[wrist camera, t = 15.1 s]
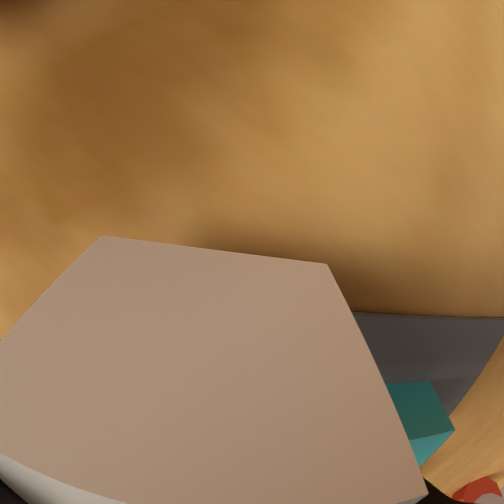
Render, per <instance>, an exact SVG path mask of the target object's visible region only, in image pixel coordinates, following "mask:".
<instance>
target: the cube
mask: <svg viewBox="0 0 504 504" xmlns="http://www.w3.org/2000/svg"><path fill="white" fill-rule="evenodd" d="M385 385H386V388H387V390H388V392H389V394H390V397H391V399H392V401H393V404H394V406H395V408H396V411H397V413H398V416H399V418H400V420H401V423H402V425H403V428H404V430H405V432H406V435H407V437H408V440H409V442H410V445H411V448H412V450H413V453H414V455H415V458H416V460H417V463H418V466H419V467H420V466H421V465H422V464H423V463H424V462H425V461H426V460H427V459H428V458H429V457H430V456H431V455H432V454H433V453H434V452H435V451H436V450H437V449H438V448H439V447H440V446H441V445H442V444H443V443H444V442H445V441H446V440H447V438H448V437H449V436H450V435H451V434H452V433H453V432H454V431H455V428H454V427H453V425H452V423H451V421H450V419H449V417H448V415H447V413H446V411H445V409H444V407H443V405H442V404H441V402H440V400H439V398H438V396H437V394H436V393H435V391H434V389H433V387H432V385H431V384H430V382H429V381H422V382H410V383H397V384H385Z"/></svg>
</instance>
